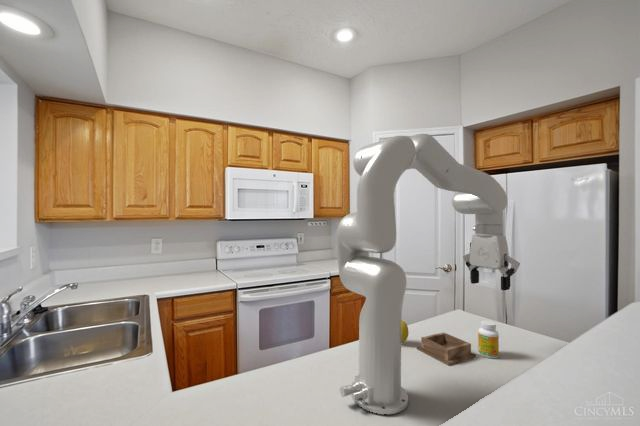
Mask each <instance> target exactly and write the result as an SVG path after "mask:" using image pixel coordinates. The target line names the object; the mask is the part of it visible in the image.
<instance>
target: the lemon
mask: <svg viewBox="0 0 640 426" xmlns="http://www.w3.org/2000/svg"><path fill="white" fill-rule="evenodd" d="M408 337H409V327H408V325H407V323H406V322H405V321H404V320H402V319H401V344H402V343H403V342H405V341H407V340H408Z"/></svg>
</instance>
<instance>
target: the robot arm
mask: <svg viewBox="0 0 640 426" xmlns="http://www.w3.org/2000/svg"><path fill="white" fill-rule="evenodd" d="M352 163H353V165H352V166H353V168H354V171H355V172H356V173H357V174H358V175H359V176H360V177H359V180H358V184H357V189H356V212H352V213H347V214H346V215H345V216H343V218H342V219H341V220H340V222H339V223H338V225H337V229H336V252H337V266H338V273H339V279H340V282H341V284H342V285H343V287H344V288H345V289H347V290H348V291H350V292H352V293H356V294H357V295H360V296H363V297H365V302H364V303H363V306H362V308H361V310H360V313H359V319H358V321H359V322H358V327H359V328H358V329H359V333H358V375H355V376H354V381H352V383H351V384H348V385H345V386H340V388H339V393H340V395H341V397H342V398H344V397H348V396H351V399H352V400H353V401H354V402H356V403H355V404H356V405H357V406H359V407H360V408H361V407H362V409H363V410H365V411H367V412H369V411H370V413H372V412H373V413H372V414H376V413H377V414H378V415H384V414H387V415H395V414H398V413H401V412H402V411H405V409H406V408H407V407H408V405H409V394H408V392H407V391H406V389H405V388H404V387H403V386H402V343H401V320H402V315H403V314H402V312H403V304H404V298H405V294H406V290H407V289H406V288H407V275H406V273H405V271H404V269H403V268H402V267H401V266H400V265H399V264H398V263H397V262H395V261H393V260H389V259H386V258H381V257H373V256H370V253H372V254H386V253H389V252H391V251H392V250H393V249H394V248H395V246H396V243H397V224H396V223H397V220H396V219H397V218H396V206H395V204H396V203H395V192H396V187H397V184H398V182H399V180H400V178H401V177H402V175H404V174H403V173H405V172H406V171H407V170H411V169H413V170H416V171H417V172H418V173H420V174H421V175H422V176H423V177H424V178H426V179H427V181H429V183H431V184H432V185H433V186H434V187H435V188H437V189H441V190H444V191H450V192H455V194H454V195H453V197H452V199H451V200H452V201H451V202H452V208H453V209H454V210H455V211H456V212H457V213H459V214H463V215H475V216H474V224H475V225H474V226H472V228H471V229H472V231H473V232H475V234H472V237H471V241H470V247H469V253H467V254H464V255H463V256H462V258H463V261H464V263H465V265H466V267H467V269H468V271H469V272H470V284H473V285H475V284H479V283H480V271H479V270H478V269H479V268H484V269H490V270H498V271H499V272H500V273H501V275H502V276H500V290H501V291H509V290H510V288H511V277H513V276H514V274H515V273H516V272H517V270H518V269H519V268H520V265H521V263H520V261H517V260H516V259H514V258H512V257H511V256H510V255H509V254H510V253H509V246H508V242H507V241H508V240H507V237H506V235H504V210H506V208H507V205H508V196H507V193H506V190H504V188H503V187H502V185H501V184H500V182H498V181H497V180H496V179H495V178H494V176H492V175H490V174H488V173H487V172H484V171H482V170H478V169H476V168H473V167H471V166H468V165H465V164H462V163H459V162H458V161H457V160H456V159H455V158H454V156H453V155H451V154H450V152H448V151H447V150H446V148H445V147H444V146H442V145H441V143H440V142H439V141H438V140H437V139H435V137H433V136H432V135H430V134H429V133H418V134H413V135H411V136H407V135H395V136H391V137H389V138H384V139H382V140H378V141H377V142H373V143H370V144H368V145H364V146H362V147H360V148H359V149H358V150H357V151H356V153H355V155H354V156H353V161H352ZM509 264H510V265H511V267H510V268H509Z"/></svg>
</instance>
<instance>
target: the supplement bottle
mask: <svg viewBox="0 0 640 426" xmlns="http://www.w3.org/2000/svg"><path fill="white" fill-rule="evenodd" d="M477 333H478V334H477V335H478V338H477V339H478V342H477V343H478V345H477V346H478V354H479V355H480V356H482V357H484V358H487V359H498V357H500V355H499V346H500V345H499V339H500V338H499V337H500V336H499V335H500V334H499V332H498V331H497V323H496V322H493V321H491V320H481V322H480V327H479V329H478V332H477Z"/></svg>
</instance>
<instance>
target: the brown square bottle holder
mask: <svg viewBox="0 0 640 426" xmlns="http://www.w3.org/2000/svg"><path fill="white" fill-rule="evenodd" d="M420 341H421V342H420V343H421V345H416V350H418V351H420V352H421V353H424V354H426V355H427V356H430V357H431V358H433V359H435V360H436V361H439V362H440V363H442V364H444V365H446V366H448V367H449V366H452V365H455V364H459V363H462V362H465V361H469V360H471V359H475V358H477V354H475V353H474V352H472V343H470V342H467V341H465V340H463V339H461V338H458V337H456V336H454V335H451V334H449V333H446V332H445V331H444V332H443V331H442V332H439V333H434V334H430V335H425V336H421V340H420Z"/></svg>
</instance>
